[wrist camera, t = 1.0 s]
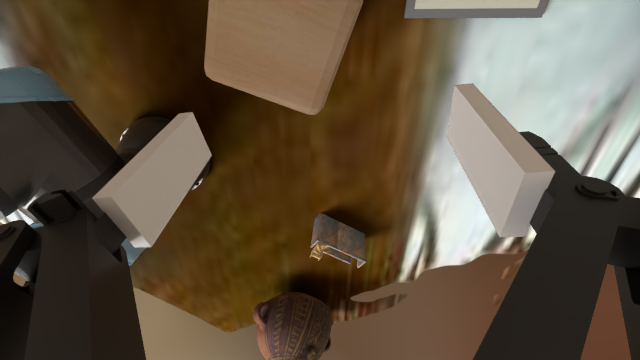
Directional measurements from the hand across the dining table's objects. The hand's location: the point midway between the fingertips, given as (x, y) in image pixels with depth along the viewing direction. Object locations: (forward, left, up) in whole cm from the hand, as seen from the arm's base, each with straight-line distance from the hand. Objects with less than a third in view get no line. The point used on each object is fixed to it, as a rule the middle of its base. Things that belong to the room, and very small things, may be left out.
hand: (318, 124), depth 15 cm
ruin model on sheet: (+1, -40, -29) cm, 49 cm away
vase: (-10, -70, -28) cm, 76 cm away
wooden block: (-4, +2, -28) cm, 29 cm away
